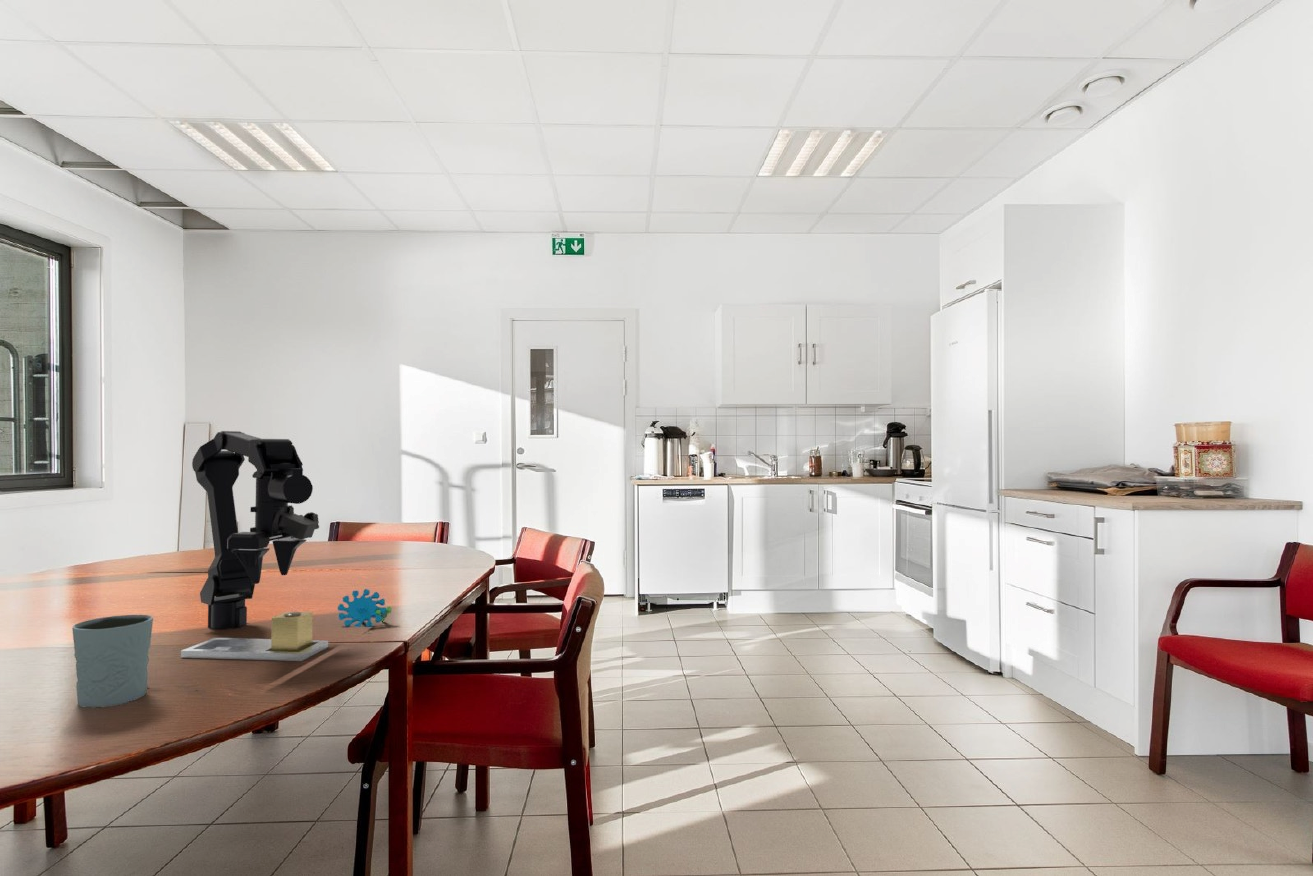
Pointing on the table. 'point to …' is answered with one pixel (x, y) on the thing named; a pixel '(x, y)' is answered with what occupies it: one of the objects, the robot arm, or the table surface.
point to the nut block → (291, 631)
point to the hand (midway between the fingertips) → (270, 579)
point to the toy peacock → (363, 609)
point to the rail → (248, 650)
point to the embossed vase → (112, 659)
